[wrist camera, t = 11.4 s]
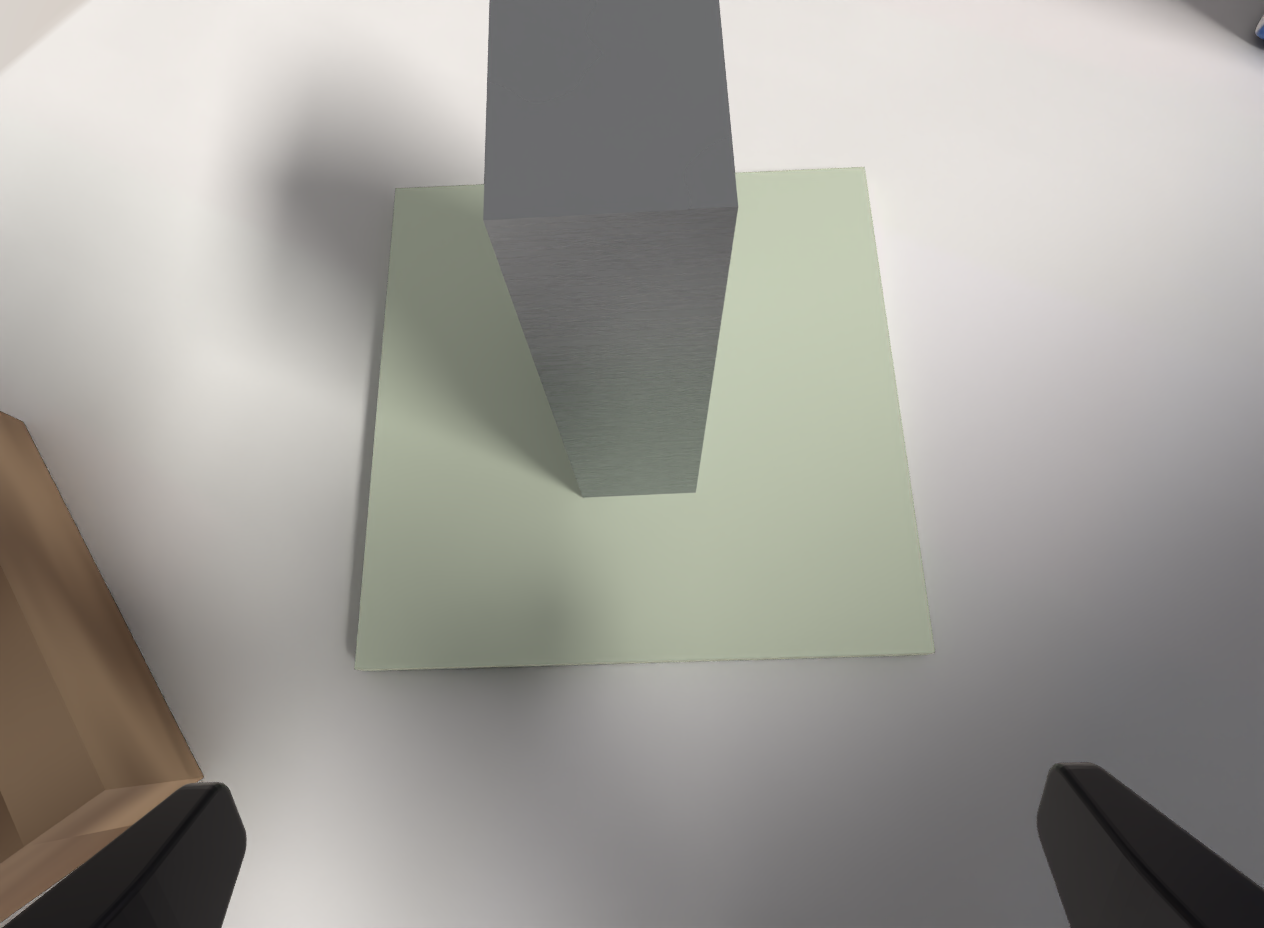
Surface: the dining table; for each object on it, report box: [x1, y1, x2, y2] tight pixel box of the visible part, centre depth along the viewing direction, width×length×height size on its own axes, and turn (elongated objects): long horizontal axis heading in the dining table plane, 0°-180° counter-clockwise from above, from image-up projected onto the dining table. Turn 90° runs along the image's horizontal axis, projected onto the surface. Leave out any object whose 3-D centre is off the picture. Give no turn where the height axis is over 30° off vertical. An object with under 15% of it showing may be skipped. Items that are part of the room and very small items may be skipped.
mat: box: [354, 167, 935, 671], centre depth 18 cm, size 12×12×1 cm
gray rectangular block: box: [483, 0, 738, 498], centre depth 13 cm, size 5×2×10 cm, turn 2°
